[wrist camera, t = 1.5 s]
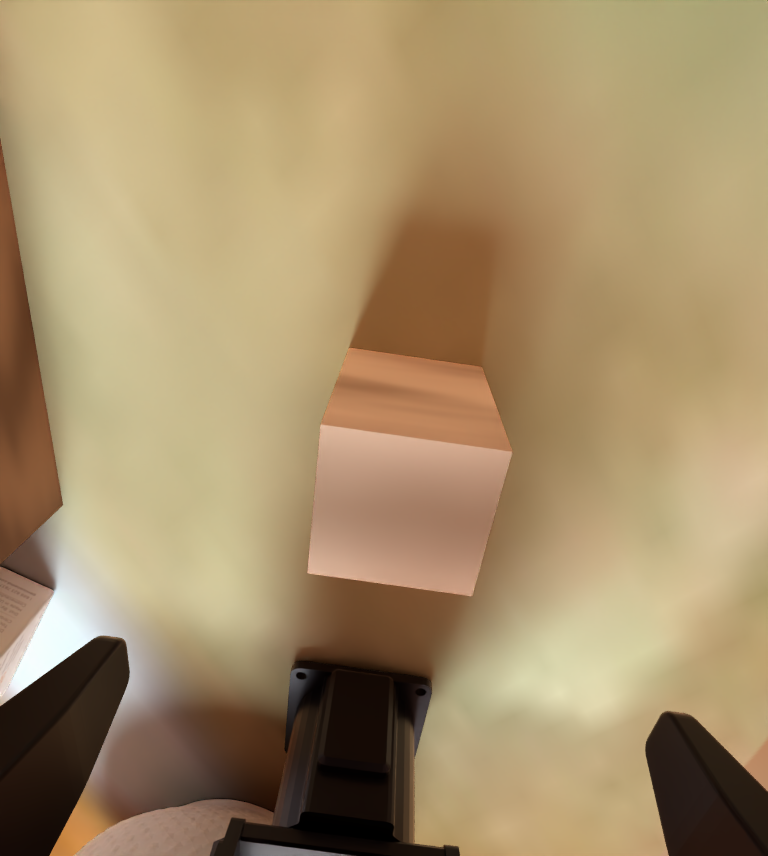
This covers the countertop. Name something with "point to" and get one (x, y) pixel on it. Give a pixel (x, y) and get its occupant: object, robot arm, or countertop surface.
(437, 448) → the maple block
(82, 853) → the cereal bowl
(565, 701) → the countertop surface
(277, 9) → the countertop surface
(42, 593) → the small box
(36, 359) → the walnut block
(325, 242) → the countertop surface
